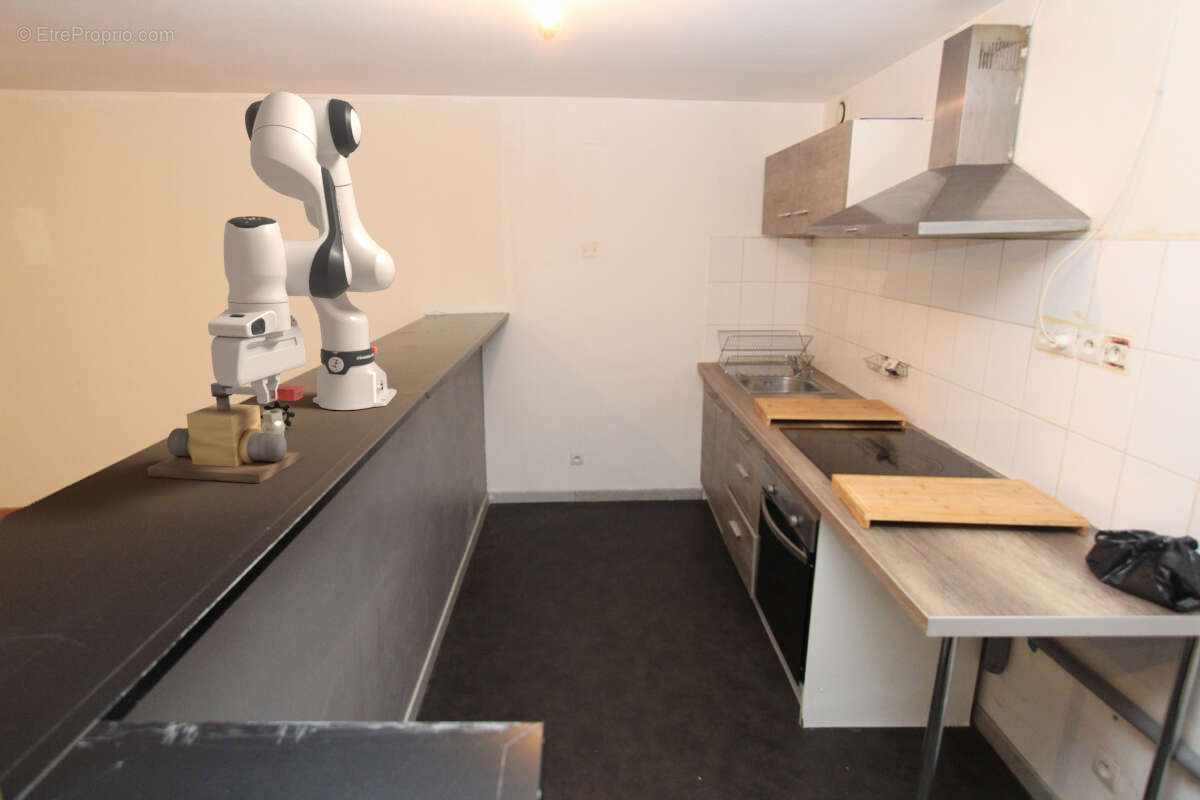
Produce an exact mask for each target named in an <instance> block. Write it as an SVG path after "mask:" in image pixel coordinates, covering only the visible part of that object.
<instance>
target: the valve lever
mask: <svg viewBox="0 0 1200 800" xmlns="http://www.w3.org/2000/svg"><path fill="white" fill-rule="evenodd" d="M303 390H304V389H303V385H288V384H287V385H285V384H279V386H278V389H277V400H278V401H286V402H287V401H288V402H295V401H298V400H300V399H303V398H304V391H303ZM210 391H211V397H213V398H216V397H227V396H229V397H231V396H233V395H243V396H257V393H256V392H255V391H254V389H253V387H252V386H243V385H241V386H222V385H220V384H219V383H218V382H217V381H216V382H213V383H211V384H210Z"/></svg>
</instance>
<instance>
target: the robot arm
mask: <svg viewBox="0 0 1200 800" xmlns="http://www.w3.org/2000/svg"><path fill="white" fill-rule="evenodd" d="M244 124H245V125H244V126H245V129H246V133H247V136H248V139H249V141H250V145H249V146H250V147H249V156H250V158H249V159H250V165H251V167H252V170H253V171H254V173H255V174H256V176H257V177H258V179H260V181H261V182H263V183H264V185H266V187H268V188H269V189H272V190H273V191H274V192H276V193H279V194H281V195H283V196H286V197H290V198H293V199H294V200H295V199H296V200H298V201H301V202H303V207H304V212H305V218H306V219H307V221H308V223H309V224H310V225H311V226H312V227H314V228H316V229H318V234H319V236H318V237H317V238H314V239H308V240H303V239H302V240H301V239H297V240H296V239H283V237H282V232H281V229H280V228H281V227H280V225H279V223H278V221H277V220H276V219H273V218H271V217H266V216H257V215H256V216H254V215H253V216H251V215H248V216H236V217H232V218H230V219H228V220H226V222H225V226H224V231H223V263H224V264H223V265H224V266H223V268H224V274H225V277H226V280H227V282H228V291H229V292H228V295H227V306H228V307H227V308H226V309H224V311H223V312H222V313H220V314H219V315H218V316H216V317H214V318H213V319H212V320H210V321H209V322H208V324H207V330H208V334H209V335H210V336H212V337H213V336H215V337H213V339H212V341H211V346H210V351H211V364H212V371H213V376H214V379H215V381H216V383H217V382H218V383H219V384H220V385H222V386H244V385H248V384H250V387H253V389H254V391H255V392H256V393H257V395H256V400H257V403H258V404H261V405H266V404H269V403H272V402H275V401H276V400H277V389H278V386H279V385H280V383H281V373H284V372H287V371H291V370H294V369H297V368H301V367H303V366H305V363H306V361H307V360H306V359H307V355H306V348H305V341H304V335H303V332H302V329H301V328H300V327H299V325H298V321H297V320H296V319H295V317H294V316H293V315H291V310H290V309H291V308H290V299H289V297H308V299H309V300H310V301H311V302H312V304H313V307H314V310H315V311H316V314H317V316H318V322H319V330H320V337H321V338H320V339H321V348H320V355H319V357H320V363H321V364H322V366H321V367H320V368H319V369H318V370H317V373H316V374H317V378H316V380H317V382H316V383H317V384H316V385H317V387H316V397H313V399H312V402H313V404H318V406H319V407H320V408H322V409H325V410H326V409H327V410H336V411H351V410H362V409H363V410H364V409H368V408H369V409H370V408H375V407H385V406H387V405H389V403H390V402H391V401H392V399H393V398H395V396H396V395H397V393H398V392H397V390H396V389H394V388H391V387H390V388H389V387H388V378H387V373H386V372H385V370H383V369H382V368H381V367H380V366H379V365H378V364H377V363H376V362H375V360H376V359H375V355H377V353H378V348H377V346H371V341H370V340H371V339H370V338H371V337H370V320H369V318H368V316H367V314H366V313H365V312H364V311H363V310H361V309H360V308H358V307H356V306H354V304H353V303H352V302H351V301H350V299H349V298H348V295H347V293H348V292H350V293H366V294H367V293H374V292H381V291H385V290H387V289H389V288H390V287H391V285H392V284H393V283H394V281H395V276H396V265H395V261H394V259H393V257H392V256H391V254H390V252H388V251H387V250H386V249H384V248H382V247H381V246H380V245H379V244H377V242H376V241H375V240H374V239H373V238H372V236H371V235H370V234H369V233H368V232H367V229H366V228H365V226H364V225H363V223H362V221H361V218H360V214H359V211H358V206H357V203H356V197H355V192H354V187H353V181H352V175H351V171H350V166H349V162H348V159H347V158H349V156H350V155H351V154H352V153H355V151H356V150H357V149H358V147H359V146H360V143H361V136H362V125H361V122H360V119H359V115H358V114H357V112H356V109H355V108H354V107H353V105H351V103H350V102H348V101H345V100H343V99H337V98H331V99H326V98H319V97H318V98H317V97H302V96H299V95H297V94H296V93H293V92H290V91H282V90H281V91H280V90H278V91H273V92H271V93H269V94H267V95H266V96H265V97H264V98H263V99H261V100H257V101H254V102H252V103H250V105H249V106H248V107H247V108H246V110H245V113H244Z"/></svg>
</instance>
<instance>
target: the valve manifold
mask: <svg viewBox="0 0 1200 800" xmlns="http://www.w3.org/2000/svg"><path fill="white" fill-rule="evenodd" d="M215 401H216V403H214V404H211V405H209V406H206V407H203V408H201V409H197V410H194V411H192V412H189V413H187V414H186V420H187V421H186V422H187V428H185V427H184V428H183V427H180V428H179V427H178V428H177V427H176V428H174V429H172V430H171V432H170V433H169V435H168V437H167V440H166V447H167V450H168V453H170V455H172V456H171V457H169V458H166V459H164V460H162V461H159V462H157V463H155V464H153V465H150V466H148V467H146V470H147V471H146V472H147V477H155V478H158V477H159V478H170V479H185V480H186V479H187V480H188V479H189V480H202V481H203V480H204V481H217V482H218V481H220V482H231V483H232V482H234V483H235V482H236V483H248V484H249V483H252V484H254V483H255V484H261V483H263V482H264V481H266V480H268V479H269V478H271V477H273V476H274V475H276V474H278V473H279V472H281V471H283V470H285V469H286V468H288V467H289V466H291V465H293V464H295V463H296V462H298V461H299V460H302V459H303V458H304V457H305V455H304V454H305V453H304V449H301V448H300V449H299V448H288V447H287V446H288V445H287V439H286V437H285V435H284V436H283V435H282V434H272V433H263V431H262V421H261V420H262V419H261V410H260V405H255V404H239V403H231V401H230V396H227V397H215Z"/></svg>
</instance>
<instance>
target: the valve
mask: <svg viewBox="0 0 1200 800" xmlns="http://www.w3.org/2000/svg"><path fill="white" fill-rule="evenodd" d="M280 401H281V400H275V401H273V405H272V406H271V405H270V404H269V403H267V404H264V407H263V409H264V411H262V413H261V414H260V420H262V421H263V422H262V423H261V430H262V432H263V433H272V434H282V435H283V436H284V437H285V431H286V427H288V428H289V427H290V428H291V426H292V423H293V422H292V421H291V420H289V419H290V418H295V416H296V412H294V411H289V409H290V408H291V404H290V403H285V404H284V405H281V402H280ZM285 415H286V418H285V419H284V420H283V418H284V416H285Z"/></svg>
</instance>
